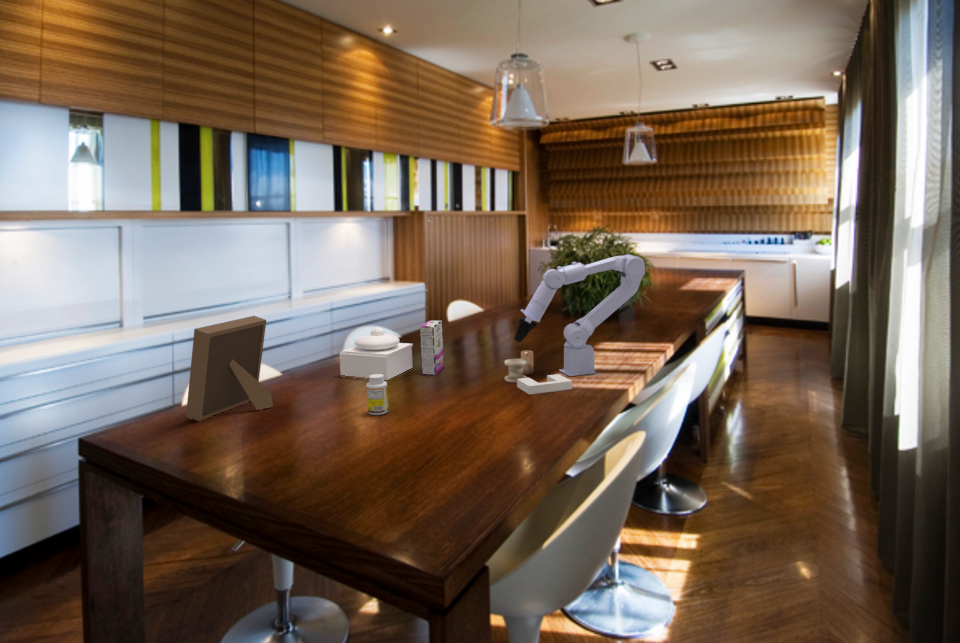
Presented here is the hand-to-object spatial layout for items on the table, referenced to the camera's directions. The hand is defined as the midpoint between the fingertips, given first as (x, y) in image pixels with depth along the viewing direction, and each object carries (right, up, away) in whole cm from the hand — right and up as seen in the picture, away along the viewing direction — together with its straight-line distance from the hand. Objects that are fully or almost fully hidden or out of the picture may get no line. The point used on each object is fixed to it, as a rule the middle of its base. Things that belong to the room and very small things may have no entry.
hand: (518, 339), depth 210 cm
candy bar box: (-28, -11, +9) cm, 32 cm away
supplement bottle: (-40, -19, -35) cm, 56 cm away
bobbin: (-1, -12, -5) cm, 13 cm away
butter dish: (-47, -12, +9) cm, 49 cm away
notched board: (+7, -14, -15) cm, 22 cm away
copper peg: (+3, -11, +4) cm, 12 cm away
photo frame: (-79, -19, -31) cm, 87 cm away
